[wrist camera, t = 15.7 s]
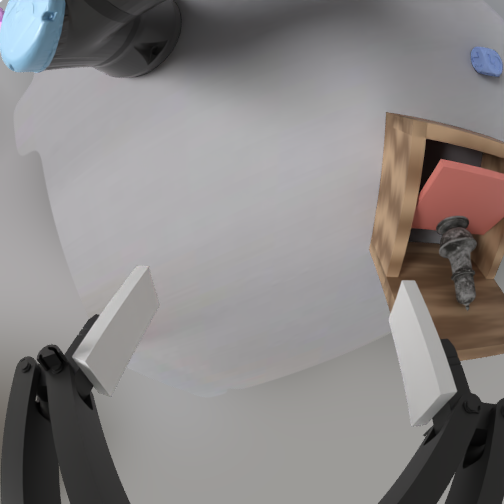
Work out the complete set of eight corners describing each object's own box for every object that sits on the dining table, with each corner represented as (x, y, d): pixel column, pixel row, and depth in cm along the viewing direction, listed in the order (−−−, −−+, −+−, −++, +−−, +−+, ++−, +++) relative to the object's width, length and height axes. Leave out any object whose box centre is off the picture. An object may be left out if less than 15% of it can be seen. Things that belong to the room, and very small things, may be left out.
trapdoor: (440, 158, 22) (443, 166, 22) (530, 182, 20) (533, 189, 20) (400, 220, 35) (401, 227, 35) (481, 229, 33) (483, 235, 32)
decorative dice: (468, 47, 23) (482, 46, 19) (487, 53, 22) (501, 52, 19) (472, 71, 25) (486, 71, 21) (490, 76, 24) (504, 77, 21)
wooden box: (386, 112, 32) (480, 145, 13) (492, 137, 29) (593, 192, 10) (369, 249, 44) (404, 366, 24) (465, 255, 41) (523, 349, 21)
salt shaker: (462, 236, 33) (475, 315, 28) (429, 236, 35) (440, 318, 30) (476, 214, 28) (496, 301, 23) (441, 213, 30) (458, 305, 25)
